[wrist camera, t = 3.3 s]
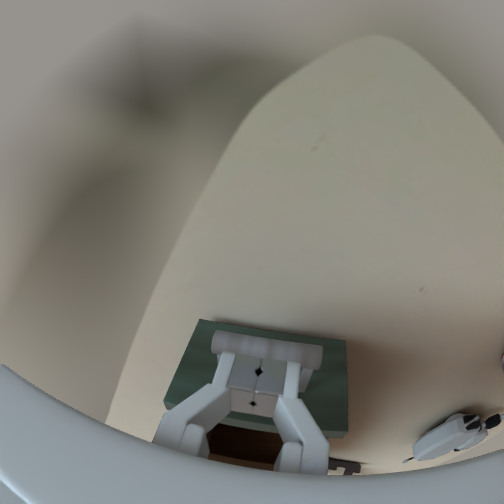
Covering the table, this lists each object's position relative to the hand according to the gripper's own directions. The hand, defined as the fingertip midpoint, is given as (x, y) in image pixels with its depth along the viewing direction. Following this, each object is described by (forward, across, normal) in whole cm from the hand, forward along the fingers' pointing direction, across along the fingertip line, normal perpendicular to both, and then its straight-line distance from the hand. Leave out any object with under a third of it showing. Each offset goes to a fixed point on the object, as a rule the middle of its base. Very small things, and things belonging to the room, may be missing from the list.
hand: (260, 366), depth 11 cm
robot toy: (+10, -30, +25) cm, 40 cm away
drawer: (+8, 0, +11) cm, 14 cm away
